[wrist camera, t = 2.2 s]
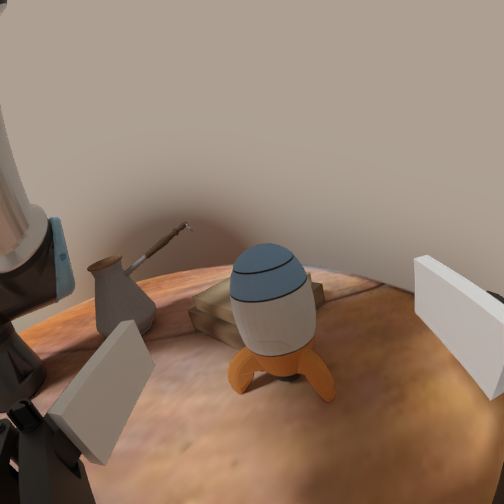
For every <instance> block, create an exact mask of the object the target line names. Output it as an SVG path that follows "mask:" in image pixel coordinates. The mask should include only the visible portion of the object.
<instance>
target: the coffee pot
mask: <svg viewBox="0 0 504 504" xmlns="http://www.w3.org/2000/svg"><path fill="white" fill-rule="evenodd" d="M186 226H187V227H188V228H189V229H190V231H191V232H193V231H192V229H191V228H190V227H189V225H188V224H187V222H184V223H182V224H181V225H179V227H178V228H175V229H173V230H172V232H171V233H170V234H168V235H166V236H165V237H163V238H161V239H160V240H159V241H158V242H157V243H156V244H155V245H154V246H153V247H152V248H151V249H150V250H149V251H148V252H146V253H145V255H144V256H143V257H141V258H140V259H139V260H138V261H137V262H135V263H134V264H133V265H132V266H131V267H129V268H128V269H127V270H126V271H124V270H123V269H122V265H121V259H122V255H115V256H111V257H108V258H105V259H103V260H100V261H98V262H96V263H94V264H92V265H90V266H89V267H88V268H87V270H88V271H90V272H91V273H92V275H93V276H94V278H95V311H96V327H97V330H98V332H99V333H100V334H102V335H103V336H104V337H106V338H108V336H109V335H110V334H111V333H112V332H113V331H114V329H115V328H116V327H117V326H118V325H119V324H120V322H121V321H128V320H134V321H135V323H136V326H137V328H138V330H139V332H140V335H142V334H144V333H145V332H146V331H148V329H149V328H150V327H151V323H152V322H153V320H154V317H155V315H156V305H155V303H154V302H153V301H152V300H151V299H150V298H149V297H148V296H147V295H146V294H145V293H144V292H143V290H142V289H141V288H140V287H139V286H138V285H137V284H136V283H135V282H134V281H133V280H132V279H131V278H130V276H129V275H130V274H131V273H132V272H133V271H134V270H135V269H136V268H137V267H139V266H140V265H141V264H142V263H143V262H144V261H145V260H146V259H148V258H149V257H151V256H152V255H153V254H154V253H156V252H157V251H158V250H160V249H161V248H162V247H164V246H165V245H166V244H167V243H168V242H169V241H170V240H171V239H172V238H173V237H174V236H175V235H178V233H179V231H181V230H182V229H184V228H185V227H186Z"/></svg>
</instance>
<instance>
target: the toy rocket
mask: <svg viewBox="0 0 504 504" xmlns="http://www.w3.org/2000/svg"><path fill="white" fill-rule="evenodd" d="M230 300H231V306H232V311H233V315H234V319H235V322H236V325H237V328H238V330H239V333H240V335H241V337H242V339H243V341H244V343H245V345H246V347H244V348H243V349H241V350H240V351H239V352H238V353H237V354H236V355H235V356H234V357H233V359H232V361H231V362H230V364H229V368H228V379H229V383H230V384H231V386H232V388H233V389H234V390H235V391H236V392H237V393H238V394H242V393H243V392H244V391H245V390H246V388H247V387H248V385H249V384H250V382H251V381H252V380H253V378H254V372H256V371H261V372H264V371H266V372H268V373H269V374H271V375H274V376H275V377H276V378H277V379H278V380H281V381H292V380H295V379H297V378H298V377H300V376H301V375H302V374H303V375H305V376H306V379H307V381H308V382H309V383H310V384H311V385H312V387H313V388H314V389H315V390H316V391H317V392H318V393H319V395H320V396H321V397H322V398H323V399H324V400H325V402H331V401H332V400H333V398H334V397H335V384H334V380H333V378H332V375H331V373H330V371H329V369H328V368H327V366H326V365H325V363H324V362H323V361H322V360H321V358H320V357H319V356H318V355H317V354H316V353H315V352H314V351H313V350H312V348H313V343H314V338H315V331H316V309H315V302H314V296H313V292H312V288H311V285H310V282H309V279H308V277H307V274H306V272H305V270H304V268H303V267H302V265H301V263H300V262H299V261H298V259H297V258H296V257H295V256H294V255H293V253H292V252H291V251H289V250H287V249H286V248H284V247H282V246H280V245H276V244H271V243H269V244H268V243H267V244H259V245H256V246H253V247H251V248H249V249H248V250H246V251H245V252H243V253H242V254H241V255H240V256H239V258H238V259H237V260H236V262H235V264H234V266H233V270H232V274H231V279H230Z"/></svg>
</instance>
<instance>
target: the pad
mask: <svg viewBox="0 0 504 504" xmlns="http://www.w3.org/2000/svg"><path fill="white" fill-rule="evenodd" d="M306 274H307V277H308V279H309V282H310V285H311V288H312V292H313V296H314V302H315V309H316V310H317V309H318V308H319V307H320V306H321V305H322V304H324V303H325V299H324V292H323V286H322V284H321V283H314V282H312V281H311V275H310V273H308V272H306ZM230 279H231V277H229V278H227V279H226V280H224V281H222V282H220V283H218V284H216V285H214V286H212V287H210V288H208V289H207V290H205V291H203V292H201V293H199V294H197V295H195V296H193V297H192V298H193V300H194V303H195V307H193V308H191V309H190V310H188V313H189V315H190V318H191V321H192V323H193V326H194V328H196V329H198V330H200V331H202V332H204V333H206V334H207V335H209V336H211V337H213V338H215V339H217V340H219V341H221V342H223V343H225V344H227V345H229V346H232V347H234V348H236V349H238V350H241V349H243V348H244V347H246V345H245V343H244V341H243V339H242V337H241V335H240V333H239V330H238V328H237V325H236V322H235V319H234V315H233V311H232V306H231V300H230Z"/></svg>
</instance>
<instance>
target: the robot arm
mask: <svg viewBox="0 0 504 504" xmlns="http://www.w3.org/2000/svg"><path fill="white" fill-rule="evenodd" d="M6 6H7V0H0V15H1V14H2V12H3V11H4V9H5V8H6ZM414 274H415V313H416V314H417V315H418V316H419V317H420V318H421V319H422V320H423V321H424V323H425V324H426V325H427V326H428V327H429V328H430V329H431V330H432V331H433V332H434V333H435V335H436V336H437V337H438V338H439V339H440V340H441V341H442V342H443V344H444V345H445V346H446V347H447V348H448V349H449V350H450V352H451V353H452V354H453V355H454V356H455V357H456V359H457V360H458V361H459V362H460V363H461V364H462V366H463V367H464V368H465V369H466V370H467V372H468V373H469V374H470V375H471V377H472V378H473V379H474V380H475V382H476V383H477V384H478V385H479V387H480V388H481V389H482V390H483V392H484V393H485V394H486V395H487V397H488V398H489V399H490V401H491V400H493V399H494V398H496V397H497V396H499V395H501V394H502V393H504V298H503V297H502V296H500V295H499V294H496V293H493V292H490V291H486V292H485V291H484V290H482V289H481V288H479V287H478V286H476V285H475V284H473V283H472V282H470V281H469V280H467V279H466V278H464V277H463V276H461V275H460V274H458V273H456V272H455V271H453V270H452V269H450V268H448V267H447V266H445V265H444V264H442V263H440V262H438V261H437V260H435V259H434V258H432V257H430V256H429V255H425V256H421V257H418V258H415V259H414ZM74 289H75V281H74V276H73V271H72V267H71V263H70V259H69V255H68V251H67V246H66V242H65V238H64V233H63V229H62V225H61V221H60V219H59V218H58V217H51V218H49V219H48V218H47V216H46V214H45V212H44V210H43V209H42V208H41V207H39V206H38V205H35V204H30V203H29V200H28V198H27V195H26V193H25V190H24V187H23V185H22V182H21V179H20V176H19V173H18V170H17V167H16V164H15V161H14V158H13V155H12V151H11V148H10V144H9V141H8V137H7V133H6V129H5V125H4V120H3V116H2V111H1V106H0V412H5V411H7V413H6V414H7V415H8V417H9V418H10V419H11V421H12V422H13V423H14V424H15V426H16V427H17V428H15V427H14V426H13V424H12V423H11V422H10V421H9V420H8V419H1V420H0V504H96V503H95V500H94V497H93V494H92V491H91V488H90V484H89V481H88V478H87V474H86V471H85V467H84V464H83V462H82V461H81V460H80V459H79V457H80V455H81V454H83V455H84V456H85V457H86V458H87V459H88V460H89V461H90V462H91V463H94V464H99V465H103V466H106V464H107V462H108V459H109V457H110V455H111V453H112V451H113V449H114V447H115V445H116V443H117V441H118V438H119V436H120V434H121V432H122V430H123V428H124V426H125V424H126V422H127V420H128V418H129V416H130V414H131V412H132V410H133V408H134V406H135V404H136V402H137V400H138V398H139V396H140V394H141V392H142V390H143V388H144V386H145V384H146V382H147V380H148V378H149V377H150V375H151V373H152V371H153V369H154V367H155V364H154V362H153V360H152V358H151V356H150V354H149V351H148V349H147V347H146V345H145V343H144V341H143V339H142V337H141V335H140V332H139V330H138V328H137V326H136V323H135V321H134V320H128V321H121V322H120V324H119V325H118V326H117V327H116V328H115V329H114V331H113V332H112V333H111V334H110V335H109V336H108V338H107V339H106V340H105V341H104V342H103V343H102V345H101V346H100V347H99V348H98V349H97V351H96V352H95V353H94V354H93V355H92V357H91V358H90V359H89V360H88V362H87V363H86V364H85V365H84V366H83V368H82V369H81V370H80V371H79V373H78V374H77V375H76V376H75V378H74V379H73V380H72V381H71V382H70V383H69V385H68V386H67V387H66V389H65V390H64V391H63V392H62V394H61V395H60V397H59V398H58V399H57V400H56V401H55V403H54V404H53V405H52V407H51V408H50V409H49V411H48V412H47V413H46V415H45V416H44V417H42V415H41V414H40V413H39V411H38V410H37V409H36V407H35V406H34V405H33V403H32V402H31V400H29V399H28V398H30V397H31V396H32V395H33V394H34V393H35V392H36V391H37V389H38V388H39V387H40V385H41V384H42V382H43V380H44V378H45V375H46V368H45V366H44V364H43V363H42V361H41V359H40V358H39V356H38V355H37V354H36V353H35V352H34V351H33V350H32V349H31V348H30V347H29V346H28V345H27V344H26V343H25V342H24V341H23V340H22V338H21V337H20V336H19V335H18V334H17V333H16V331H15V329H14V327H13V325H12V323H11V321H12V320H14V319H16V318H19V317H21V316H24V315H26V314H28V313H31V312H33V311H36V310H38V309H41V308H43V307H46V306H48V305H51V304H53V303H57V302H58V301H59V300H60V299H62V298H65V297H66V296H68V295H70V294H72V293H73V291H74ZM10 459H11V460H12V461H13V462H14V463H15V464H16V465H17V466H18V467H19V472H17V471H16V470H15V469H14V468H13V467H12V466H11V465H10V464H9V463H10ZM492 504H504V463H503V467H502V471H501V475H500V479H499V483H498V486H497V490H496V493H495V496H494V499H493V502H492Z"/></svg>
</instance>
